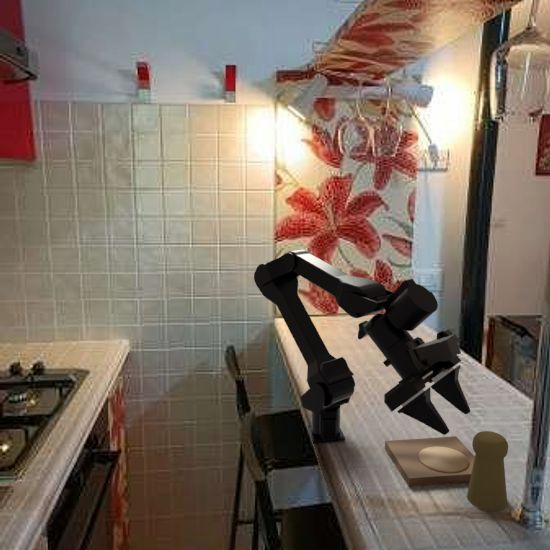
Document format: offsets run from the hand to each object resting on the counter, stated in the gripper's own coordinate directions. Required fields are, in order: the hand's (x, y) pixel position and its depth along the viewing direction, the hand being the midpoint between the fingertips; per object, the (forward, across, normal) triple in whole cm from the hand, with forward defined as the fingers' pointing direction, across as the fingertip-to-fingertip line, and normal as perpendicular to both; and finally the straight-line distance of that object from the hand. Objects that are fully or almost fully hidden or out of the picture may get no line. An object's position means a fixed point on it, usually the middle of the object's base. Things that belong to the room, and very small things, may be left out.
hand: (458, 422), depth 87 cm
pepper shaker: (+12, 0, +5) cm, 13 cm away
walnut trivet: (+4, +5, +12) cm, 14 cm away
